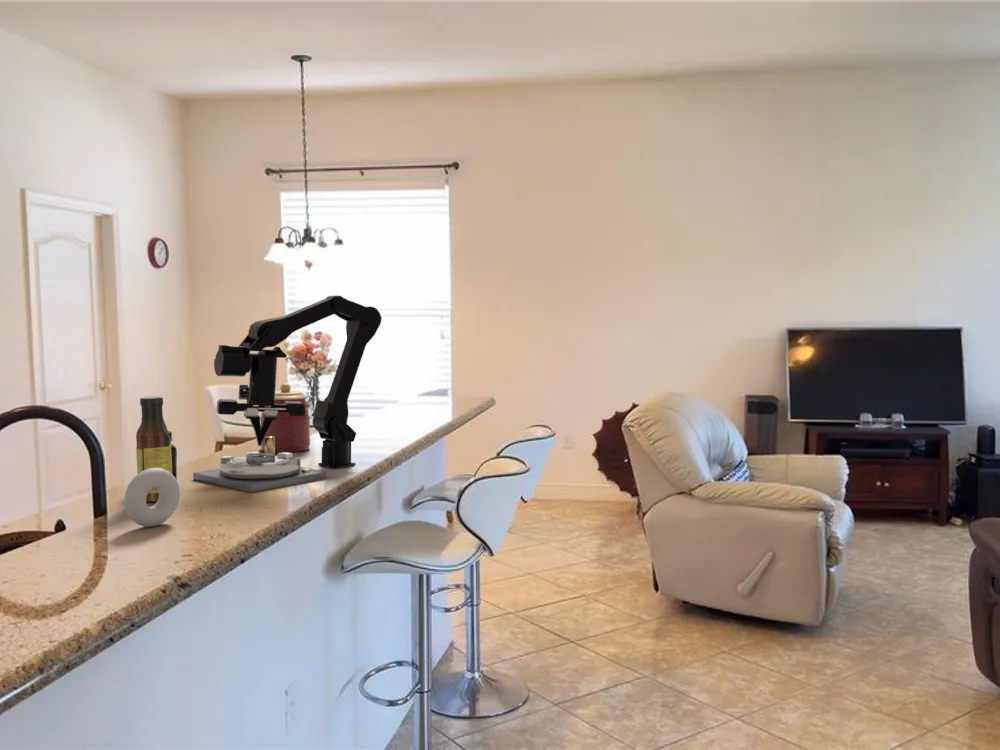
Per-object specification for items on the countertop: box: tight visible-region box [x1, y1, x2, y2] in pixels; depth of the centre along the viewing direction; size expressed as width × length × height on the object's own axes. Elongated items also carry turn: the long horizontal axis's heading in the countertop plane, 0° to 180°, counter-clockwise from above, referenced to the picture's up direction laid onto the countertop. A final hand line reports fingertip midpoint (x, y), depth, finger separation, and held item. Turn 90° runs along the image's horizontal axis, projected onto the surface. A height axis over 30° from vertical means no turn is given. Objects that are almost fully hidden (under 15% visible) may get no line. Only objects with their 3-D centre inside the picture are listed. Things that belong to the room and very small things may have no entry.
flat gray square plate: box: [192, 466, 328, 494], centre depth 184 cm, size 20×20×2 cm
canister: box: [259, 383, 311, 454], centre depth 223 cm, size 13×13×18 cm
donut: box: [123, 468, 181, 528], centre depth 142 cm, size 10×4×10 cm, turn 148°
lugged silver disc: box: [219, 436, 302, 479], centre depth 184 cm, size 17×17×6 cm
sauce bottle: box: [135, 396, 173, 503], centre depth 161 cm, size 6×6×20 cm
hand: (259, 445), depth 190 cm, fingers closed
